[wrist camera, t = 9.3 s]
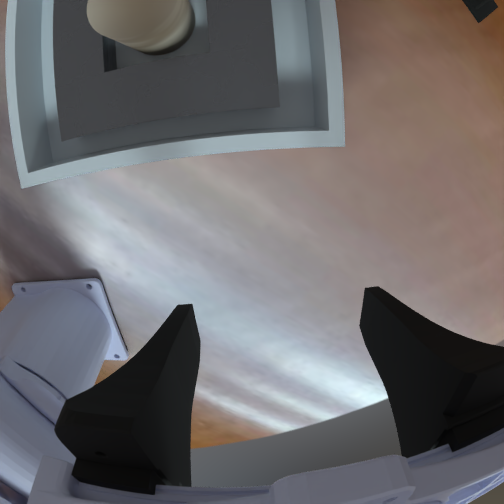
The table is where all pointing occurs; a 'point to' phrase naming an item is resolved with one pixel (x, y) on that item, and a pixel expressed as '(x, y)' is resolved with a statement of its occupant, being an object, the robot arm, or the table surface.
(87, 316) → the robot arm
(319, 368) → the table surface
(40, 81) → the tray
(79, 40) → the plate
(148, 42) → the peg
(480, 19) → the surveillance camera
